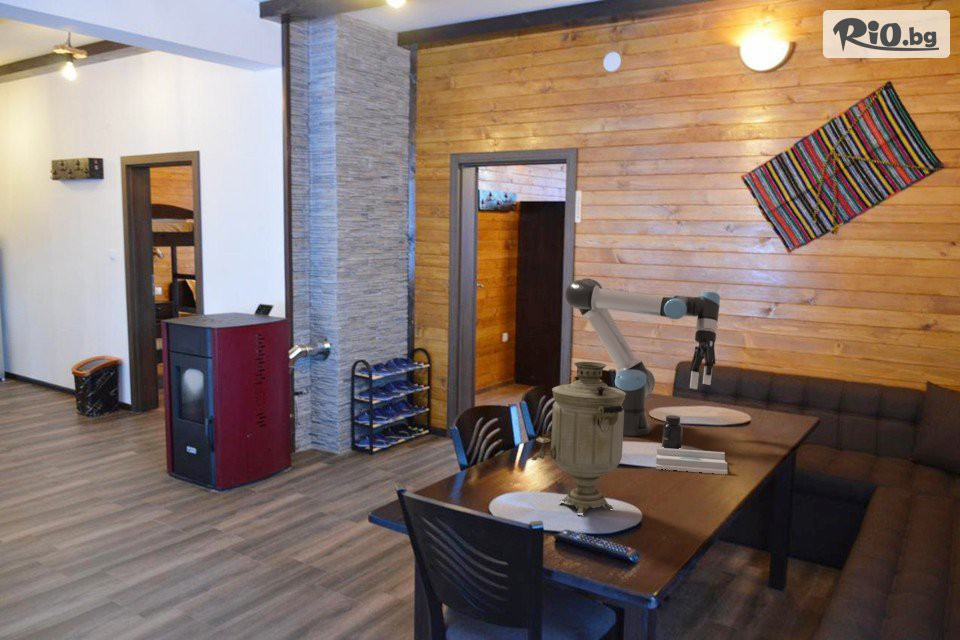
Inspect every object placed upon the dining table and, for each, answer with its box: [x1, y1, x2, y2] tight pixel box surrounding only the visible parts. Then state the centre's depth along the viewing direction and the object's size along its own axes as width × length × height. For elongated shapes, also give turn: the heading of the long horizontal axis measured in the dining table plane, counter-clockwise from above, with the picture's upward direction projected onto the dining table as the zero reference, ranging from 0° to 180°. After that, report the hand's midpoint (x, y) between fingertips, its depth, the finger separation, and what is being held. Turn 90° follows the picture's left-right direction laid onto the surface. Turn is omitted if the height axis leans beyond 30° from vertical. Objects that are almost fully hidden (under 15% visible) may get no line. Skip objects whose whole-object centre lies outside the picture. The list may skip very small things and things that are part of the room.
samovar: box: [531, 361, 626, 514], centre depth 202 cm, size 30×26×40 cm
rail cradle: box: [655, 447, 729, 475], centre depth 243 cm, size 22×16×3 cm
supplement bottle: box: [661, 414, 683, 449], centre depth 261 cm, size 7×7×12 cm
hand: (699, 386), depth 276 cm, fingers open, 13 cm apart
